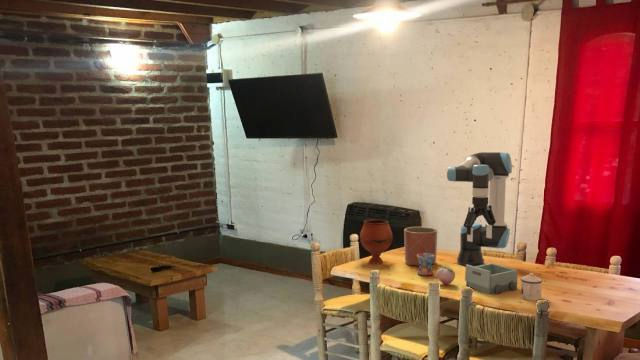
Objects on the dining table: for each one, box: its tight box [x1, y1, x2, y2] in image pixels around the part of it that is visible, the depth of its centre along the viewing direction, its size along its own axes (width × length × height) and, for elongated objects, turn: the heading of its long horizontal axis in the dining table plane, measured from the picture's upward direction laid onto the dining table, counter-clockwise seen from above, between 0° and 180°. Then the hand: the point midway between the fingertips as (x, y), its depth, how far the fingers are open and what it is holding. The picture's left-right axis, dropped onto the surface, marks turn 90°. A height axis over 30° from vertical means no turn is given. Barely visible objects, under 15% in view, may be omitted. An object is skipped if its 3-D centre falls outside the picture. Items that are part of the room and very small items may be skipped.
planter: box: [403, 226, 438, 267], centre depth 305 cm, size 19×19×20 cm
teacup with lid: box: [520, 272, 543, 302], centre depth 240 cm, size 12×9×12 cm
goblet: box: [359, 218, 394, 265], centre depth 307 cm, size 19×19×25 cm
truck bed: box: [465, 262, 518, 295], centre depth 258 cm, size 18×19×9 cm
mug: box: [416, 253, 434, 277], centre depth 283 cm, size 12×9×11 cm
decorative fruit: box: [435, 265, 456, 285], centre depth 263 cm, size 9×8×10 cm
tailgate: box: [464, 265, 491, 288], centre depth 253 cm, size 2×15×8 cm, turn 30°
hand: (479, 239), depth 255 cm, fingers open, 13 cm apart
